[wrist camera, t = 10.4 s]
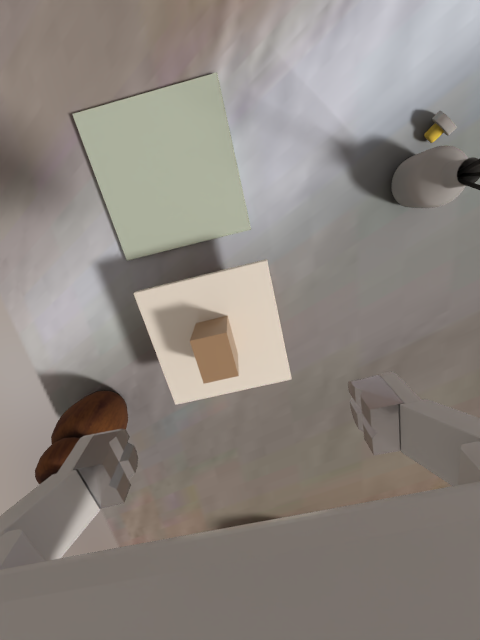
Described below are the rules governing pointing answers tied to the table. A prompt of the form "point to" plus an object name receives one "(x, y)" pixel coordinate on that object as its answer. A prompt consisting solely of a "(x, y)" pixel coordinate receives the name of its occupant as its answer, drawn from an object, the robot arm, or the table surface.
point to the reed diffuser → (435, 171)
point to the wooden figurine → (81, 428)
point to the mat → (166, 167)
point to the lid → (216, 332)
